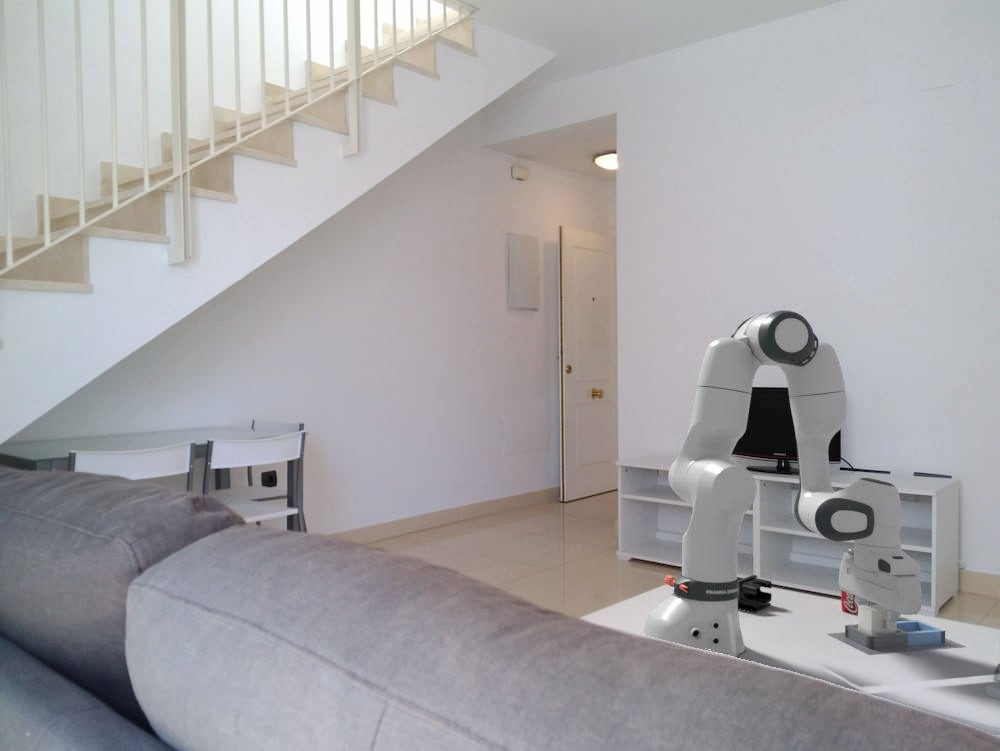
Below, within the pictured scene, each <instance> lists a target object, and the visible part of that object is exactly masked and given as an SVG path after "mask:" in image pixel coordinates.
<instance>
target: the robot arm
mask: <svg viewBox="0 0 1000 751" xmlns="http://www.w3.org/2000/svg"><path fill="white" fill-rule="evenodd" d="M701 362H702V363H701V365H700V369H699V373H698V378H697V383H696V390H695V397H694V402H693V407H692V408H693V409H692V415H691V420H690V424H689V428H688V431H687V433H686V436H685V439H684V441H683V444H682V447H681V450H680V452H679V454H678V457H676V459H675V460H674V461H673V462H672V464H671V466H670V467H669V470H668V473H667V474H668V475H667V476H668V478H667V479H668V480H667V481H668V483H669V486H670V489H672V491H673V492H674V493H675V494H676V495H677V497H679V498H680V499H681V501H684V502H685V503H687V504H690V505H692V513H691V517H690V521H689V525H688V528H687V530H686V531H685V532H684V534H683V535H682V539H681V573H680V575H679V576H678V577H677V578H675V577H674V576H673V575H671V574H668V575H666V576H665V577H664V583H665V585H667V586H669V587H670V588H673V593H671V594H670V595H669V596H668V597H667V598H665V599H664V600H662V601H661V602H660V603H659V604H657V605H656V606H655V607H654V608H653V609H651V610H650V611H649V612H648V613H647V615H646V619H645V623H644V628H643V632H642V633H644V634H642V633H639V634H642V635H646V636H650V637H654V638H658V639H662V640H666V641H670V642H675V643H679V644H682V645H686V646H690V647H694V648H699V649H703V650H708V649H711V650H708V651H712V652H718V653H723V654H726V655H730V656H734V657H737V658H738V656H739V655H740V654H742V653H743V652H744V651H745V650H746V646H745V643H744V638H743V634H742V630H741V623H740V616H739V615H740V614H739V609H738V602H739V580H740V579H739V578H738V548H739V547H738V546H739V538H740V537H739V536H740V531H741V528H742V525H743V521H744V517H745V515H746V513H747V511H748V510H749V509H750V508H751V506H752V505H753V503H754V502H755V500H756V497H757V492H758V487H757V482H756V479H755V476H753V474H752V473H751V471H749V470H748V469H747V468H746V467H744V466H743V465H741V464H739V462H737V461H734V460H732V459H731V457H732V454H733V451H734V449H735V447H736V445H737V443H738V441H739V440H740V439H741V438H742V437H743V436H744V434H746V430H747V425H748V420H749V419H748V418H749V412H750V405H751V398H752V392H753V382H754V379H755V376H756V373H757V372H758V369H759V368H760V367H761V366H768V367H769V366H773V367H774V366H778V367H779V369H781V370H782V371H783V373H784V376H785V380H786V381H787V390H788V397H789V404H790V405H789V407H790V410H791V416H792V421H793V426H794V433H795V434H794V435H795V441H796V454H797V464H798V465H797V466H798V477H799V480H798V481H799V482H798V483H799V485H798V492H797V494H796V498H795V500H794V509H793V510H794V516H795V519H796V521H797V523H798V524H799V525H800V526H801V528H803V529H804V530H805V531H808V532H809V533H813V534H816V535H818V536H820V537H821V538H824V539H826V540H829V541H831V542H837V543H838V542H847V541H848V542H849V541H853V548H847V549H846V550H844V552H843V554H842V559H841V562H840V565H839V573H838V586H839V588H840V591H841V590H843V591H845V592H848V593H850V594H853V595H855V601H856V604H857V606H860V605H867V603H866V601H870V602H873V603H874V604H878V605H881V606H883V607H886V608H887V613H888V614H889V615H888V617H887V620H883V623H884V625H883V627H884V628H885V629H887V630H890V631H891V630H895V629H896V621H898V619H899V617H900V616H901V615H904V616H905V615H906V616H907V615H908V616H909V615H917V614H918V613H919V612H920V611H921V609H922V585H921V579H920V578H919V577H918V576H917V575H920V574H921V572H922V566H921V564H920V563H919V562H918V561H917V560H914V558H912V557H911V556H910V555H908V554H907V553H906V551H904V550H903V549H902V541H901V540H902V539H901V538H900V537H901V536H900V530H901V526H902V504H901V498H900V492H899V490H898V487H896V486H895V485H894V484H892V483H891V482H888V481H885V480H880V479H877V478H876V479H875V478H871V477H860V478H858V479H857V480H856V481H855V482H854V483H852V484H850V485H849V486H846V487H845V488H842V489H840V490H837V491H835V489H834V488H833V485H832V483H831V472H830V460H829V457H830V456H829V446H830V443H831V440H832V439H833V437H834V436H835V435H836V434H837V433H838V432H839V431H841V429H842V428H843V427H844V425H845V424H846V422H847V411H848V403H847V402H848V400H847V399H848V398H847V392H846V387H845V379H844V374H843V371H842V367H841V365H840V361H839V357H838V354H837V352H836V350H835V348H834V347H833V345H831V344H830V343H828V342H825V341H822V340H819V338H818V336H817V335H816V334H815V333H814V330H813V327H812V326H811V324H810V323H809V321H808V320H807V319H806V318H805V317H804V316H803V315H801V314H799V313H798V312H795V311H791V310H777V311H772V312H771V311H769V312H763V313H760V314H757V315H755V316H752V317H749V318H747V319H746V320H744V321H742V322H741V324H740V325H739V326H737V327H736V329H735V331H734V332H733V334H732V335H731V336H730V337H727V336H726V337H720V338H717V339H715V340H713V341H712V342H710V343H709V345H708V346H707V348H706V350H705V354H704V356H703V360H702V361H701ZM705 648H706V649H705ZM713 650H714V651H713ZM741 652H742V653H741ZM739 653H740V654H739Z"/></svg>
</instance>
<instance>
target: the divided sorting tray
mask: <svg viewBox="0 0 1000 751" xmlns="http://www.w3.org/2000/svg"><path fill="white" fill-rule="evenodd" d="M826 635H828V636H830V637H832V638H834V639H835V640H837V641H839V642H842V643H844V644H846V645H848V646H851V647H852V648H853V649H856V650H858V651H860V652H862V653H865V655H868V656H871V655H874V656H875V655H882V654H883V655H885V654H898V653H909V652H919V651H920V652H922V651H932V650H933V651H934V650H943V649H947V650H948V649H957V648H958V649H959V648H967V646H965V645H963V644H961V643H958V642H956V641H952V640H950V639H948V638H946V630H944V629H941V628H939V627H936V626H934V625H931V624H928V623H925V622H923V621H921V620H918V619H915V620H912V619H911V620H901V621H900V620H899V621H898V620H897V633H887V634H874V635H870V634H868V633H866V632H864V631H862V630H859V629H858V623H857V624H845V625H844V632H833V633H832V632H831V633H826Z"/></svg>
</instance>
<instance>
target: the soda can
mask: <svg viewBox="0 0 1000 751" xmlns="http://www.w3.org/2000/svg"><path fill="white" fill-rule="evenodd" d="M840 595H841V596H840V599H841V600H840V601H841V611H842V612H844V613H846V614H848V615H849V614H850V615H853V616H858V606H857V604H856V601H855V595H853V594H850V593H848V592H845V591H843V590H841V589H840ZM866 603H867V605H875V603H873V602H870V601H866Z"/></svg>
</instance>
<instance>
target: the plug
mask: <svg viewBox="0 0 1000 751" xmlns="http://www.w3.org/2000/svg"><path fill="white" fill-rule="evenodd" d="M888 615H889V614H888V613H887V608H886V607H883V606H881V605H878V604H876V603H874V605H860V606H858V615H857V624H858V629H859V630H862V631H864V632H866V633H868V634H870V635H874V634H887V633H897V621H898V620H897V621H896V629H895V630H891V631H890V630H887V629H885V628H884V627H883V625H884V623H883V620H887V617H888Z"/></svg>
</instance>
